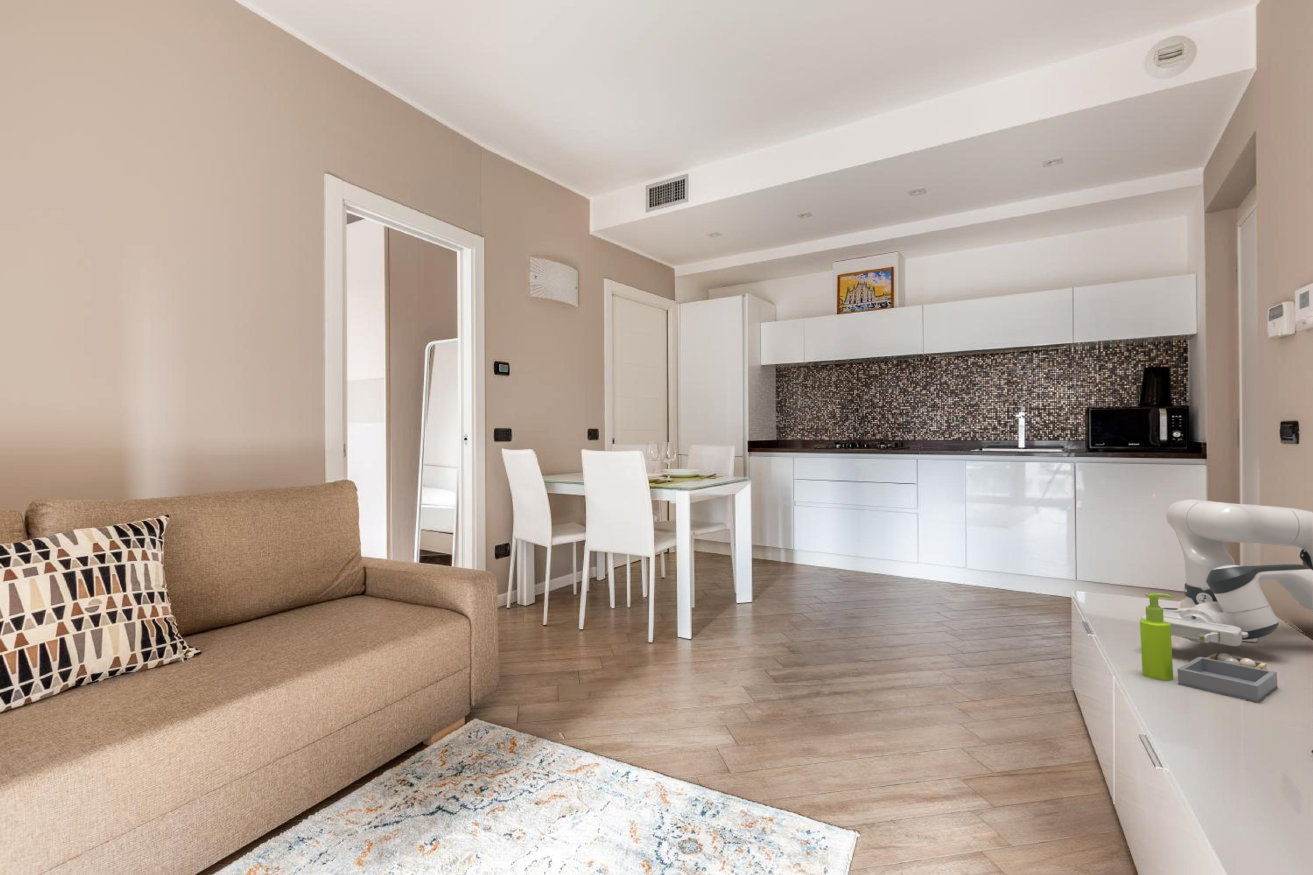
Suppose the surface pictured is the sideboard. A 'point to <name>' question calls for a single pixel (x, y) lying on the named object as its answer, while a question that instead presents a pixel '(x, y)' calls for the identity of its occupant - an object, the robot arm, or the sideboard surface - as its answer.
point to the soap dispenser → (1156, 641)
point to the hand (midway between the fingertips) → (1179, 634)
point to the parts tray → (1258, 664)
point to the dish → (1228, 679)
